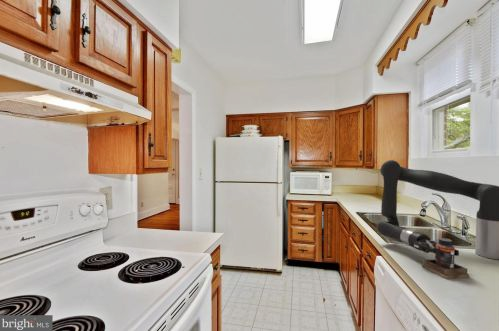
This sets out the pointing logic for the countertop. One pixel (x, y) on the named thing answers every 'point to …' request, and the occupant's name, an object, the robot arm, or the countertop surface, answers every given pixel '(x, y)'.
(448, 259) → the supplement bottle
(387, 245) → the countertop surface
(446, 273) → the square wooden tray
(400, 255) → the countertop surface
